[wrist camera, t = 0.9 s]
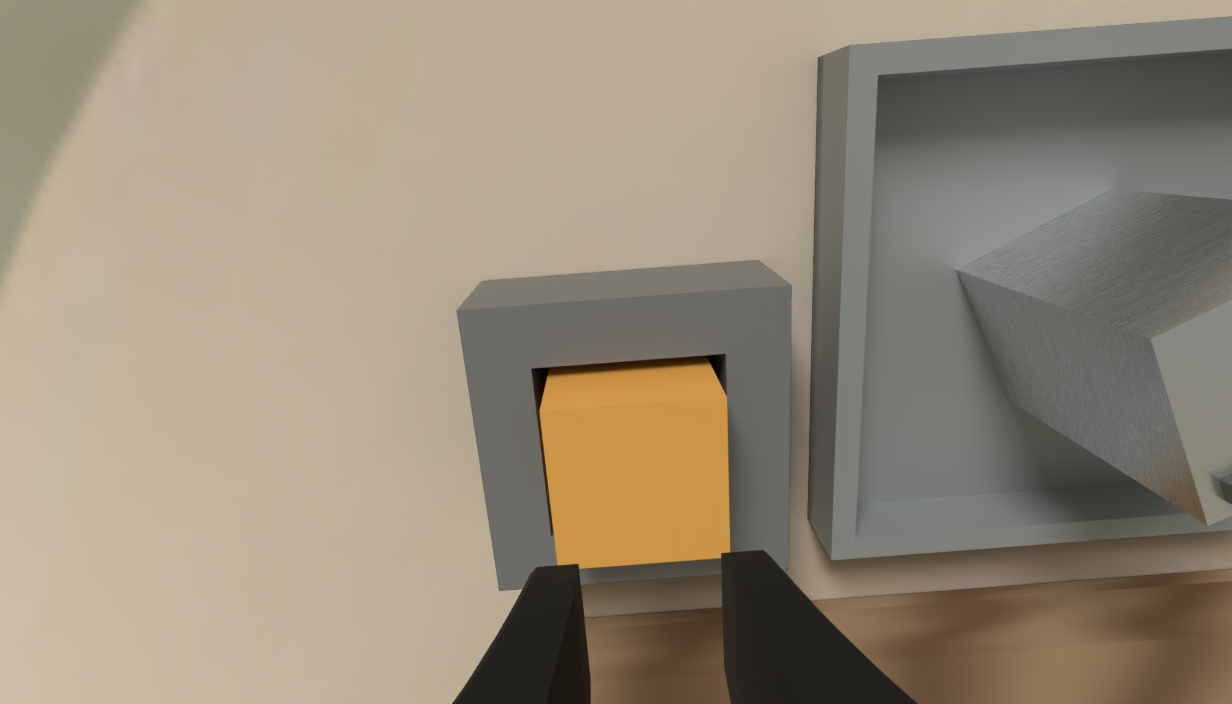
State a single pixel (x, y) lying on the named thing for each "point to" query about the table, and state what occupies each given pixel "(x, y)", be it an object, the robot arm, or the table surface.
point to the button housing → (616, 332)
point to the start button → (637, 461)
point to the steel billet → (1123, 336)
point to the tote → (961, 232)
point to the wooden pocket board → (966, 644)
